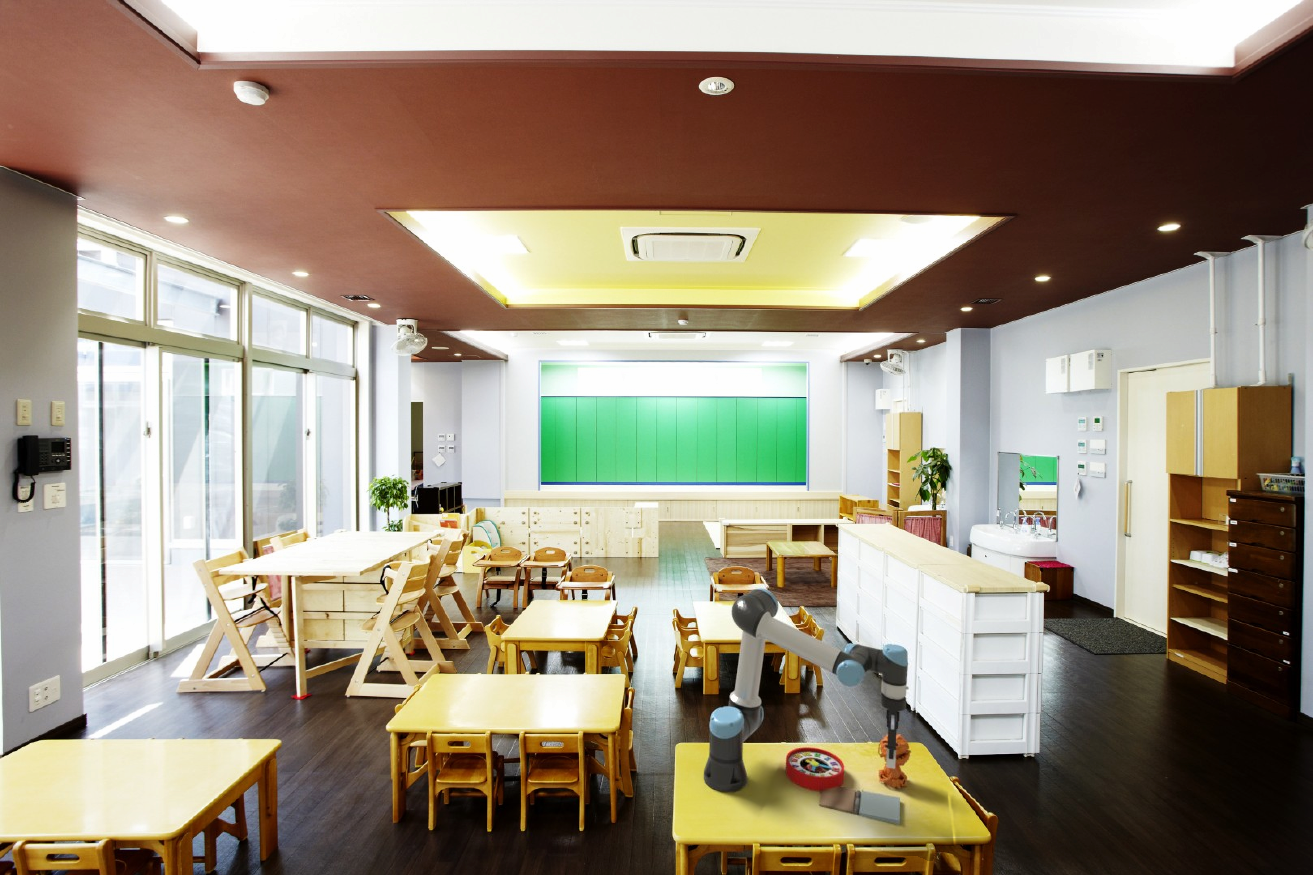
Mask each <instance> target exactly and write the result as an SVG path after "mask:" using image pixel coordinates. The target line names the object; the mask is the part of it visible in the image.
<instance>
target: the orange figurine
mask: <svg viewBox="0 0 1313 875" xmlns="http://www.w3.org/2000/svg"><path fill="white" fill-rule="evenodd" d="M901 735H902V733H901V734H900V733H898V734H896V743H898V746H896V760H895V769H893V768H888V767H886V759H887V748H885V745H888V743H887V741H888V738H887V737H888V733H887V734H886V735H885V736H884V737H883V738H882V739H881V740H880V742H879V744H878V746H877V747H878V749H877V753H878V755H879V758H883V759H884V761H885V763H884V766H883V769H879V770H878V778H879V783H880V782H882V783H884V784H886V785H887V786H889V787H892V788H893V789H895V788H897V789H898V790H901V787H906V788H907V784H908V780H907V779H908V776H907V774H905V772H904V771H902V769H901V766H902V767H903V766H905V764H906V763H907V762H908V761H909V760H910V756H911V753H912V750H910V745H909V743H908V740H907V739H906V738H904V737H903V736H901ZM880 752H881V753H880Z"/></svg>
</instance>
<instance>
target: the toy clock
mask: <svg viewBox="0 0 1313 875" xmlns="http://www.w3.org/2000/svg"><path fill="white" fill-rule="evenodd" d="M801 764H806V765H804V766H802V765H801ZM825 769H827V771H826V770H825ZM785 774H786V777H787V778H788V779H789V780H790V781H791V782H793V783H794V784H796V785H798V786H800V787H802V788H804V789H808V790H811V791H815V792H817V791H818V792H822V789H830V788H834V787H837V786H841V787H842V786H843V784H844V781H845V779H844V778H845V776H844V775H845V765H844V762H843V760H842V759H841V758H839V757H838V755H836V754H834V753H832V752H831V751H828V750H825V749H822V748H817V747H806V746H805V747H804V746H803V747H797V748H794V749H791V750H790V751H789V752H788V753H787V754H786V757H785Z"/></svg>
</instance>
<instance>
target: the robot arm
mask: <svg viewBox="0 0 1313 875" xmlns="http://www.w3.org/2000/svg"><path fill="white" fill-rule="evenodd" d="M778 611H779V601H778V599H777V596H775V594H773V592H771V591H770V590H768V589H767V588H762V587H761V588H755V589H752V590H750V591H748V592H747V593H746V594H743V595H741V596H739V597H738V598H737V599H735V601H734V602H733V604H732V606H731V618H732V620H733V622H734V624H735V626H737V628H739V629H740V630H742V631H741V632H742V634H741V640H740V648H739V649H740V650H739V654H738V655H739V656H738V663H737V664H738V665H737V673H736V677H735V678H736V679H735V684H734V685H735V687H734V690H733V691H732V692H730V695H729V700H728V706H726V705H725V706H723V707H721V706H720V707H718V708H716V709H715V710H714V711H712V713H711V715H710V719H709V720H710V721H709V742H708V744H709V747H708V748H709V749H708V750H709V754H708V758H707V761H706V764H705V767H704V769H703V780H704V783H705V784H706V785H707V786H708V787H710V788H711V789H713V790H717V791H719V792H724V793H725V792H727V793H730V792H731V793H733V792H737V791H741V790H742V789H744V788H745V787H746V786H747V784H748V774H747V770H746V767H745V763H744V758H743V753H744V752H743V750H744V742H745V741H746V740H747V739H748V738H750V737H751V735H753V733H754V732H756V731H757V730H758V728H760V726H761V725H762V723H763V720H764V714H765V713H764V708H763V706H762V699H761V697H760V696H759V691H760V685H761V684H760V683H761V676H762V668H763V662H764V654H765V646H766V641H768V642H770V643H772V644H774V645H776V646H778V647H780V648H782V649H784V650H786V651H788V652H789V653H792V654H794V655H796V656H798V657H800V658H801V659H803V660H806V661H808V662H810V663H811V664H813V665H815V666H817V667H819V668H821V669H824V670H826V671H827V672H829V673H832V674H834V675H835V676H836V677H837V679H838V680H839V682H840V683H841V685H843V686H846V687H855V686H857V685H859V684H860V683H862V682H863V680H864V679H865V676H866V675H867V674H868V673H869V672H871V673H875V674H879V675H881V689H880V691H881V696H880V705H881V706H882V707H883V708H884V709H886V714H885V715H886V716H885V717H886V718H885V719H886V727H887V734H888V737H887V738H888V741H887V743H888V745H885V748H887V759H886V762H885V763H886V767H888V768H893V769H895V760H896V746H898V743H896V735H897V730H898V729H899V723H900V712H903V711H905V710H906V708H907V697H906V696H907V690H909V689H910V688H909V686H908V685H907V684H908V669H909V667H908V666H909V662H908V659H909V658H908V657H909V656H908V654H909V653H908V650H907V649H906V648H905V647H904V646H902V645H900V644H899V645H898V644H892V643H887V644H885V645H884V646H883V647H882V648H883V649H881V648H880V649H879V648H875V647H871V646H867V645H863V644H859V643H851V642H850V643H847V644H846V645H845V648H844V651H843V650H840V649H839V648H836V647H834V646H832V645H831V644H828V643H826V642H824V641H823V640H820V639H818V638H816V637H813V636H812V635H810V634H808V633H806V632H804V631H803V630H802V631H801V630H800V629H797V628H795V627H793V626H791V625H789V624H787V623H785V622H783V621H781V620H780V619H779V620H778V619H776V618H775V617H776V615H777V613H778Z"/></svg>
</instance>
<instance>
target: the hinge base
mask: <svg viewBox="0 0 1313 875" xmlns="http://www.w3.org/2000/svg"><path fill="white" fill-rule="evenodd" d="M861 793H862V791H861V790H858V789H857V790H856V789H853V788H849V787H845V786H842V785H841V786H837V787H834V788H830V789H822V791H821V794H820V799H819V802H818V805H819V807H822V808H823V807H824V808H826V809H827V808H828V809H830V810H836V811H840V812H843V813H847V814H852V815H856V816H860V815H859V812H860V805H859V806H858V805H855V799H856V798H859V799H860V800H861Z"/></svg>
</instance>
